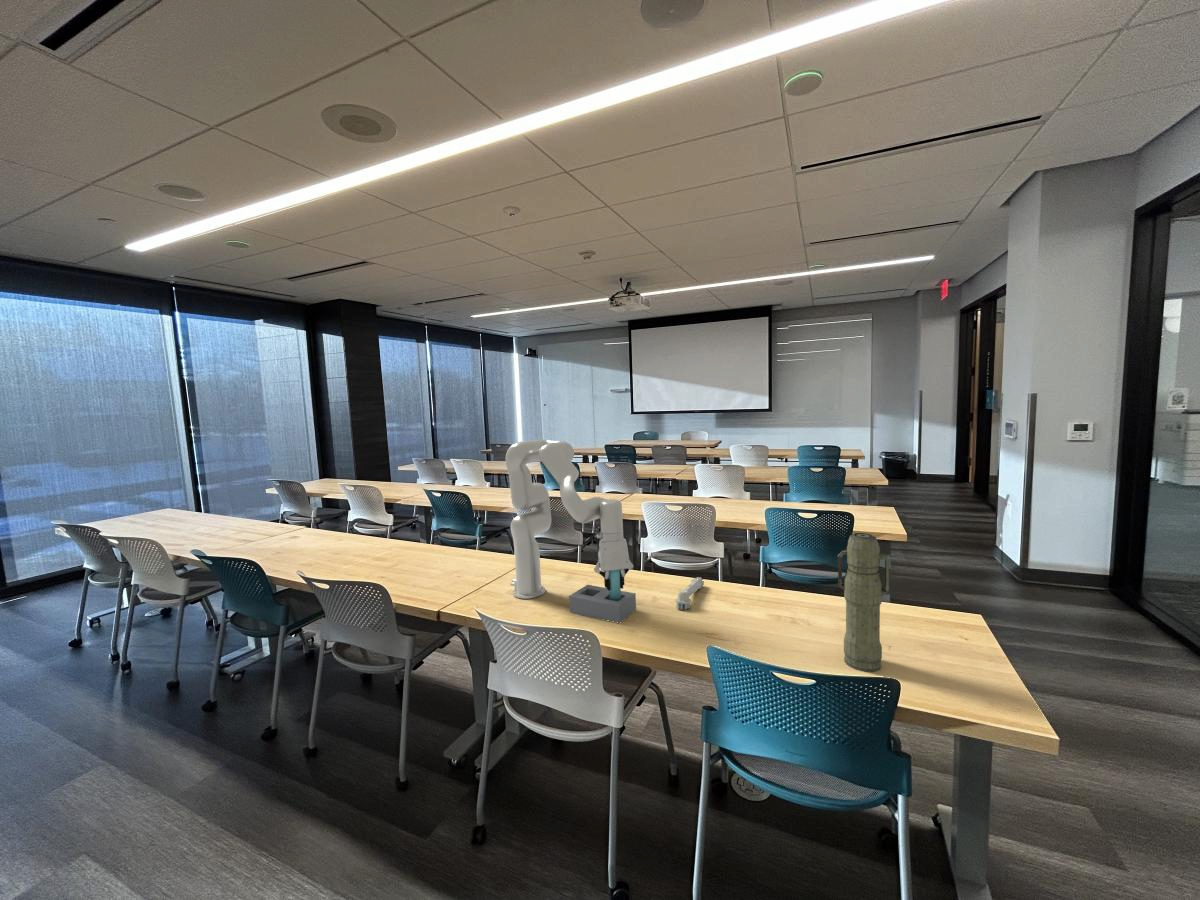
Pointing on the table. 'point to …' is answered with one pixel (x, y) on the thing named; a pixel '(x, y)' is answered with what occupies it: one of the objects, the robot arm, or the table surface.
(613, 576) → the teal dowel
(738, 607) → the table surface
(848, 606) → the thermos
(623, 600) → the hole block
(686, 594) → the grey handheld tool
